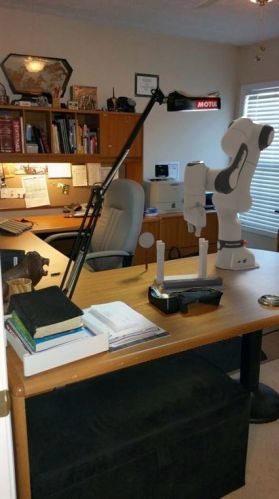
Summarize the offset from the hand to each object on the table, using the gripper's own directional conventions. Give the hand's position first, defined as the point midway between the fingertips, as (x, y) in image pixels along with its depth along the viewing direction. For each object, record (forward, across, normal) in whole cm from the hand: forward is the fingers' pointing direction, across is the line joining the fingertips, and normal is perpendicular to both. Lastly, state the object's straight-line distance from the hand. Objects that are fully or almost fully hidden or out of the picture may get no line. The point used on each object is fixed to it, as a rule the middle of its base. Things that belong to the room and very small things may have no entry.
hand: (194, 234), depth 170 cm
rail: (+23, 0, 0) cm, 23 cm away
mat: (+24, 0, 0) cm, 24 cm away
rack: (+24, +11, +2) cm, 26 cm away
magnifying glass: (+24, +29, +15) cm, 40 cm away
